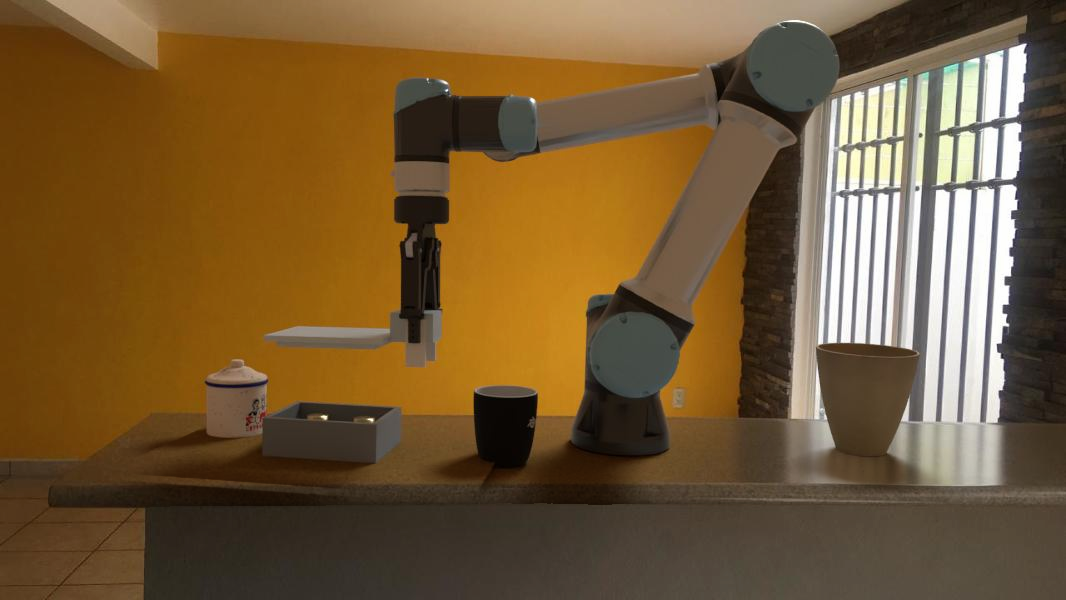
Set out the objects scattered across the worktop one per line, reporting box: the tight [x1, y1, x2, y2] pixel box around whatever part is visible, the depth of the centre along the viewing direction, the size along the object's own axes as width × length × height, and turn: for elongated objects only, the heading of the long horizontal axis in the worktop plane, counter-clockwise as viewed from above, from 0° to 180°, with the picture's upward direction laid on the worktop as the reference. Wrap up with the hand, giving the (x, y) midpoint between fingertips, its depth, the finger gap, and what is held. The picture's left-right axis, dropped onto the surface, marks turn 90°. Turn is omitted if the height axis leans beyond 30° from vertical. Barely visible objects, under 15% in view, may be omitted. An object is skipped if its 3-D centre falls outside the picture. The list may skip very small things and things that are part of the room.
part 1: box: [307, 413, 328, 420], centre depth 126 cm, size 3×3×4 cm
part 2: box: [354, 416, 375, 423], centre depth 125 cm, size 3×3×4 cm
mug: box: [473, 384, 539, 469], centre depth 122 cm, size 12×9×10 cm
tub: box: [261, 400, 402, 464], centre depth 123 cm, size 16×12×6 cm
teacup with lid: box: [204, 358, 269, 439], centre depth 133 cm, size 12×9×12 cm
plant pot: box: [815, 342, 920, 457], centre depth 133 cm, size 15×15×16 cm
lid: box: [263, 308, 443, 351], centre depth 121 cm, size 23×12×5 cm, turn 83°
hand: (421, 363), depth 120 cm, fingers closed on lid, 5 cm apart
